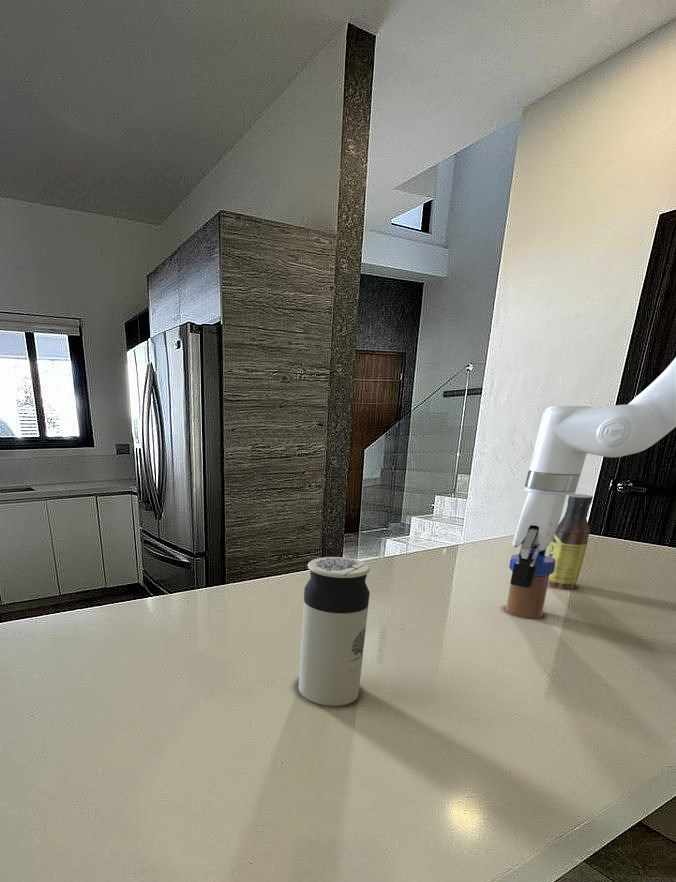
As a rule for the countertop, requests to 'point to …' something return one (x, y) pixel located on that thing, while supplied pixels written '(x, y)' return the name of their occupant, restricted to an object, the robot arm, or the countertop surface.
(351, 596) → the travel mug
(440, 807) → the countertop surface
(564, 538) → the sauce bottle
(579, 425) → the robot arm
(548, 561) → the lid
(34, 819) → the countertop surface
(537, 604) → the jar
